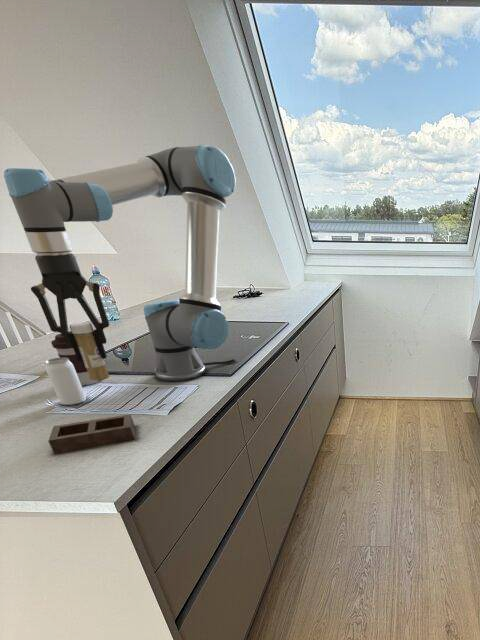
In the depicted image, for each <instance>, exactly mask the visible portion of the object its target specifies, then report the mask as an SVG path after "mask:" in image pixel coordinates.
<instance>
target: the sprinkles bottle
mask: <svg viewBox="0 0 480 640" xmlns="http://www.w3.org/2000/svg"><path fill="white" fill-rule="evenodd" d="M69 329H70V331H71V332H72V333H73V335H74V337H75V340H76V343H77V345H78V349H79V351H80V354H81V357H82V359H83V362H84V365H85V367H86V369H87V371H88V374H89V378H90V380H93V381H98V382H99V381H104V380H106V379H109V378H110V376H111V375H110V374H109V371H108V369H107V365H106V362H105V358H104V359H103V357H102V355H101V352H100V349H99V346H98V343H97V341H96V338H95V335H94V332H93V331H94V326H93V324H92V322H84V321H83V322H75V323H71V324H69Z"/></svg>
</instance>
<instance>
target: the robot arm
mask: <svg viewBox="0 0 480 640" xmlns="http://www.w3.org/2000/svg"><path fill="white" fill-rule="evenodd" d="M235 175H236V174H235V170H234V168H233V165H232V163H231V162H230V159H229V158H228V156H227V155H226V154H225V152H223V151H222V150H221V149H220V148H218V147H216V146H213V145H206V144H199V145H193V146H174V147H170V148H166V149H164V150H161V151H158V152H155V153H152V154H149V155H145V156H141V157H139V158H137V161H136V162H134V163H129V164H125V165H120V166H115V167H114V166H113V167H110V168H105V169H99V170H96V171H91V172H86V173H80V174H76V175H71V176H66V177H62V178H57V179H52V180H50V178H49V177H48V174H47V173H46V172H45V171H44V170H42V169H37V168H6V169H5V170H4V171H3V178H4V182H5V184H6V188H7V191H8V195H9V197H10V198H11V200H12V203H13V205H14V208H15V210H16V213H17V216H18V218H19V221H20V223H21V225H22V228H23V230H24V234H25V236H26V238H27V241H28V244H29V246H30V248H31V252H32V253H34V254H35V256H34V258H35V261H36V264H37V267H38V270H39V272H40V274H41V283H38V284H37V285H36V284H35V285H33V286H31V287H30V291H31V292H32V293H33V294H34V296H35V297H36V298H37V299H38V303H39V305H40V307H41V310H42V312H43V315H44V317H45V319H46V322H47V324H48V326H49V329H50V331H51V332H53V333H58V334H62V335H63V337H64V340H65V342H66V345H67V346H68V347H73V349H74V351H75V354H76V357H77V359H78V361H82V357H81V354H80V351H79V349H78V345H77V343H76V340H75V337H74V335H73V333H72V332H70V330H69V325H68V324H69V323H68V315H67V307H66V300H69V299H75V300H77V302H78V303H79V304H80V306H81V308H82V309H83V311H84V313H85V314H86V316H87V317H88V319H89V320H90V323H91V324H92V326H93V330H94V331H93V332H94V335H95V338H96V341H97V343H98V346H99V349H100V352H101V355H102V357H103V359H104V360H105V359H107V356H108V355H107V352H106V349H105V344H107V337H106V334H105V332H104V329H107V328H109V326H110V321H109V317H108V315H107V311H106V309H105V306H104V302H103V299H102V296H101V293H100V292H101V284H100V283H99V282H97V281H89V280H87V279H86V277H84V275H83V274H82V272H81V268H80V266H79V263H78V261H77V259H76V255H74V253H72V252H73V251H74V249H73V246H72V243H71V241H70V238H69V235H68V232H67V229H66V225H65V223H69V222H71V223H73V222H74V223H75V222H77V223H78V222H79V223H81V222H83V223H85V222H96V223H99V222H105V221H109V220H111V218H112V217H113V213H114V207H113V206H115V205H119V204H122V203H126V202H130V201H134V200H138V199H141V198H145V197H150V196H152V197H154V198H162V197H168V196H179V197H182V198H183V200H184V201H185V202H186V206H187V207H186V241H185V242H186V244H185V245H186V247H185V283H184V284H185V285H184V286H185V287H184V293H183V294H182V295H181V296H179V298H178V299H170V300H162V301H156V302H150V303H147V304H145V305H144V306H143V313H144V320H145V321H146V325H147V327H148V331H149V335H150V337H151V338H150V339H151V341H152V345H153V348H154V351H155V365H154V373H155V376H156V379H158V380H160V381H164V382H182V381H187V380H188V381H189V380H193V379H197V378H199V377H201V376H204V375H205V373H206V367H205V366H212V365H224V364H225V365H226V364H230V363H233V362H236V360H235V359H234V358H233V359H229V360H223V361H209V362H203V361H202V360H201V357H200V356H199V354H198V353H197V351H196V349H201V350H215V349H218V348H219V347H221V346H222V345H223V344H224V343H225V341H226V340H227V338H228V335H229V328H230V327H229V321H228V320H227V317H226V315H225V314H224V313H223V312H222V305H221V303H220V302H219V301H218V300H217V288H218V287H217V286H218V265H219V264H218V263H219V262H218V261H219V240H220V219H221V217H220V215H221V213H222V211H224V210H226V207H227V206H226V205H227V204H226V203H227V198H228V197H230V196H231V195H232V194H234V192H235V189H236V183H237V179H236V176H235ZM86 287H88V290H89V291H90V292H92V296H93V299H94V302H95V305H96V308H97V311H98V314H99V317H100V320H101V322H100V321H99V318H98V317H97V315H96V314H95V313H94V311H93V309H92V307H91V305H90V304H89V303H88V301H87V299H86V297H85V295H84V294H83V293H84V290H85V288H86ZM46 290H48V291H49V292H50V293H52V294H53V295H54V296H55V298H56V305H57V310H58V320H59V325H58V323H57V321H56V318H55V316H54V313H53V310H52V308H51V306H50V303H49V300H48V299H47V297H46V293H47V292H46ZM94 328H95V329H94ZM195 348H196V349H195Z"/></svg>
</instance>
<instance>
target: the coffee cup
mask: <svg viewBox="0 0 480 640" xmlns="http://www.w3.org/2000/svg"><path fill="white" fill-rule="evenodd" d="M50 344H51V346H52V347H53V349H56V351H57V355H58V358H69V361H70V362H71V363H72V364H73V366H74V368H75V371H76V373H77V376H78V378H79V381H80V383H81V386H88V385H89V386H90V385H93V384H96V383H98V382H99V381H93V380H90V378H89V374H88V371H87V369H86V367H85V365H84V362H83V359H82V361H78V359H77V357H76V354H75V351H74V349H73V347H68V346H67V345H66V342H65V340H64V337H63V335H62V334H61V333H57V334H56V335H55V336H54V339H53V340H51V341H50Z"/></svg>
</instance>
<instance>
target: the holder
mask: <svg viewBox="0 0 480 640" xmlns="http://www.w3.org/2000/svg"><path fill="white" fill-rule="evenodd" d="M135 440H136V426H135V423H134V420H133V417H132V414H131V413H129V414H122V415H115V416H109V417H101V418H97V419H96V418H95V419H90V420H82V421H77V422H70V423H65V424H64V423H63V424H58V425H53V426H52V429H51V432H50V435H49V437H48V444H49V446H50V448H51V450H52V453H53V454H54V455H58V454H64V453H71V452H76V451H81V450H88V449H92V448H94V449H95V448H99V447H105V446H109V445H116V444H121V443H126V442H132V441H135Z"/></svg>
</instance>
